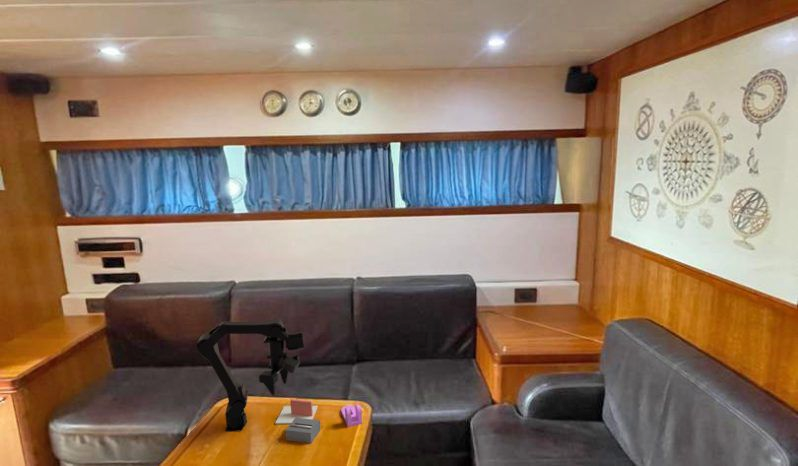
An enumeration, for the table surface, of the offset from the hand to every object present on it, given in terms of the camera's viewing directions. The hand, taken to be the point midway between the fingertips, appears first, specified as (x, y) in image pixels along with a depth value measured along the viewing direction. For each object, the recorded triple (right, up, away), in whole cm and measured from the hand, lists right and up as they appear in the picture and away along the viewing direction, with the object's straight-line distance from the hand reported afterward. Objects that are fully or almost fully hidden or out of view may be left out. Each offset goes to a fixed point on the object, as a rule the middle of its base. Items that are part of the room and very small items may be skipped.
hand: (279, 389), depth 175 cm
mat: (+6, -12, +4) cm, 14 cm away
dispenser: (+12, -14, -9) cm, 20 cm away
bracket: (+28, -12, +2) cm, 30 cm away
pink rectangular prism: (+4, -8, +4) cm, 10 cm away
